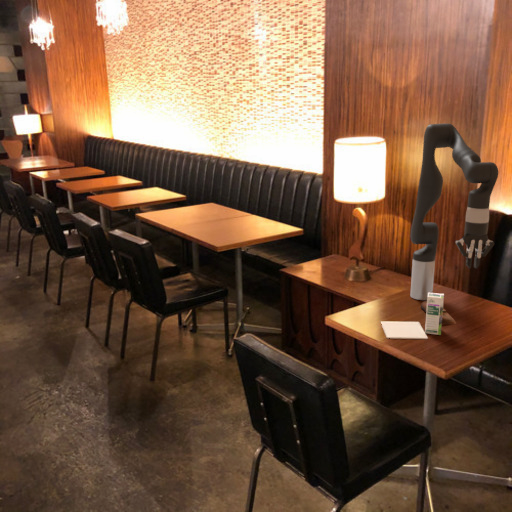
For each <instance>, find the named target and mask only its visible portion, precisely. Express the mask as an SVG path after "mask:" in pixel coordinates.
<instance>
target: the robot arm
mask: <svg viewBox="0 0 512 512" xmlns="http://www.w3.org/2000/svg"><path fill="white" fill-rule="evenodd" d="M442 148H443V149H445V148H451V149H452V151H451V156H452V159H453V161H454V163H455V164H456V165H457V166H458V167H459V168H460V169H461V171H462V173H463V175H464V178H465V180H466V181H467V182H469V183H471V184H480V185H479V187H478V188H475V189H473V190H470V191H469V192H468V198H467V207H466V212H465V221H464V231H463V232H464V234H463V236H462V238H461V239H459V240H455V241H454V242H455V245H456V246H457V248H458V250H459V252H460V254H461V255H462V256H463V257H464V258H465V259H466V260H465V266H467V268H469V269H471V268H472V265H473V268H474V269H478V268H479V267H480V263H481V258H483V257H484V258H485V257H486V256H487V255H488V254H489V252H490V251H491V250H492V248H493V247H494V246H495V242H494V241H493V240H490V239H489V237H488V229H489V221H490V203H491V196H492V192H493V191H494V188H495V186H496V183H497V180H498V177H499V167H498V166H497V164H496V163H495V162H491V161H484V162H482V160H481V157H480V156H479V154H477V152H475V151H474V150H473V149H472V148H471V147H469V146H468V144H467V143H466V142H465V140H464V138H463V137H462V135H461V134H460V132H459V130H458V129H457V128H456V127H455V125H454V124H452V123H447V122H445V123H432V124H428V125H427V126H426V128H425V131H424V134H423V147H422V159H421V160H422V161H421V167H420V168H421V169H420V175H419V181H418V186H417V187H418V188H417V195H416V196H417V197H416V205H415V211H414V214H413V219H412V223H411V227H410V234H409V235H410V241H411V243H412V244H413V245H424V246H423V247H421V248H419V249H417V250H415V251H414V252H413V253H412V264H411V265H412V267H411V281H410V295H409V296H410V298H412V299H414V300H418V301H419V300H420V301H427V297H428V293H429V292H430V293H434V292H433V290H434V280H435V279H434V278H435V264H436V256H437V249H438V242H439V234H440V231H439V227H438V224H437V223H436V222H430V221H429V222H426V221H425V222H424V220H425V218H426V215H427V214H428V213H429V211H430V210H431V209H432V208H433V207H434V206H435V205H436V203H437V202H438V201H439V200H440V198H441V195H442V192H443V184H444V178H443V175H442V173H441V170H440V169H439V167H438V165H437V162H436V149H442ZM464 243H465V245H466V250H465V249H464ZM483 246H484V247H483ZM474 250H475V254H474V259H473V252H474ZM472 263H473V264H472Z"/></svg>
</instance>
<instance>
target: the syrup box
mask: <svg viewBox="0 0 512 512" xmlns="http://www.w3.org/2000/svg"><path fill="white" fill-rule="evenodd" d="M444 296H445V293H436V292H432V293H430V292H429V293H428V297H427V300H426V301H427V310H426V311H425V312H426V314H425V325H424V326H425V327H424V332H425V334H426V335H427V334H429V335H430V334H431V335H438V336H441V335H442V314H443V309H444V299H445V297H444Z"/></svg>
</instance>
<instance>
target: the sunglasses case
mask: <svg viewBox="0 0 512 512" xmlns="http://www.w3.org/2000/svg"><path fill="white" fill-rule="evenodd" d="M420 309H422V310H423V311H424V312H426V310H427V300H423V302H421V303H420ZM454 324H457V322H456V320H455V319H454V318H453V317H452V315H450V314H449V313H448V312H447V310H446V309H445V308H443V314H442V325H454Z"/></svg>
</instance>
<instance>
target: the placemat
mask: <svg viewBox="0 0 512 512" xmlns="http://www.w3.org/2000/svg"><path fill="white" fill-rule="evenodd" d="M380 324H382V325H381V327H382V330H383V332H384V335H385V337H386V339H388V340H389V338H390V339H394V340H395V339H397V340H401V339H403V340H404V339H406V340H428V338H429V337H428V336H427V334H426V333H425V329H424V328H423V327H422V325H421V323H420V321H387V320H386V321H380Z"/></svg>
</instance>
